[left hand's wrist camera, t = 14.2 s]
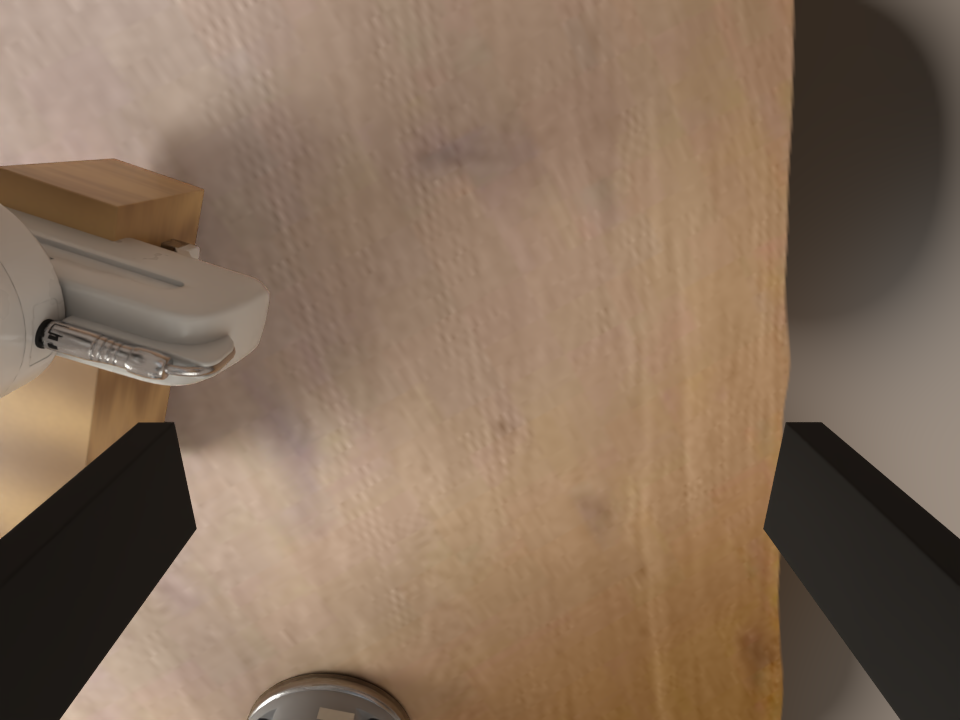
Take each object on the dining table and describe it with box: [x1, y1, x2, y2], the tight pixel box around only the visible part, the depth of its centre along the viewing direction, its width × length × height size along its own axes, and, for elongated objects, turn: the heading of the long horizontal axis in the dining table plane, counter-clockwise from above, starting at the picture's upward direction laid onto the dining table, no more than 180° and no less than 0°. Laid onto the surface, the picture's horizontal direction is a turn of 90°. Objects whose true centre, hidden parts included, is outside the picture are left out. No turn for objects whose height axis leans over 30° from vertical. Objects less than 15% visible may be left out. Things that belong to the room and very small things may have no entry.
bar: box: [0, 159, 204, 538], centre depth 35 cm, size 21×6×9 cm, turn 161°
